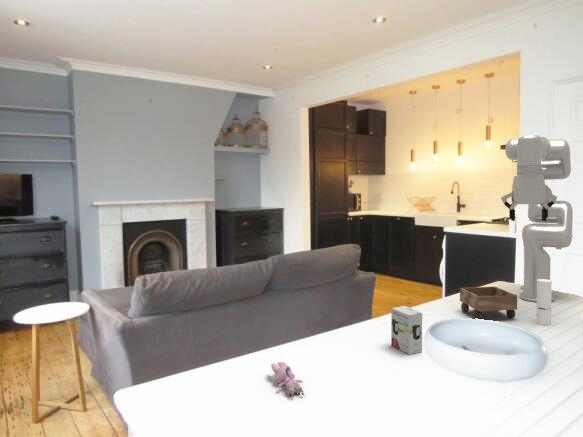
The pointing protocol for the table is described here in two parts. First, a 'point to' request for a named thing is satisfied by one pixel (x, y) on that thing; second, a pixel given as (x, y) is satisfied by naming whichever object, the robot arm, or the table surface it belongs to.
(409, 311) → the ink box
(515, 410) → the table surface
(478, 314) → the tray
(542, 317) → the tube
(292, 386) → the rabbit figure
